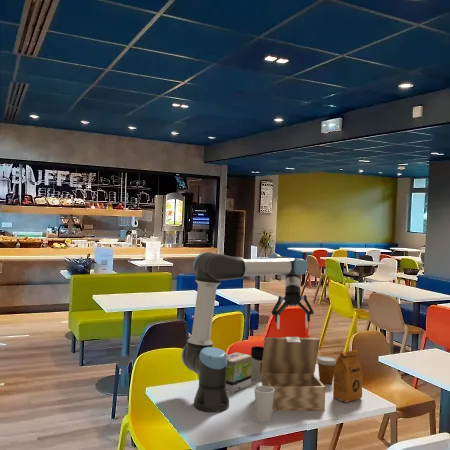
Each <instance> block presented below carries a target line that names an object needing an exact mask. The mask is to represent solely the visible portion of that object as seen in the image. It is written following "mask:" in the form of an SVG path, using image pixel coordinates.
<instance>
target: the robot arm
mask: <svg viewBox="0 0 450 450" xmlns="http://www.w3.org/2000/svg"><path fill="white" fill-rule="evenodd" d="M192 263H193V265H192V266H193V271H194V273H195V278H194V279H195V280H194V281H195V282H196V284H197V289H196V290H197V292H196V298H195V300H196V301H195V307H194V315H193V321H192V329H191V330H192V331H191V336H190V337H189V338H188V339H187V342H186V345H185V346H183V349H182V351H181V360H182V363H183V365H184V366H185V367H186V368H187V369H188V370H189V371H192V372H194V373H195V374H197V375H198V387H197V391H196V393H195V396H194V399H193V406H194V407H195V409H197V410H199V411H202V412H206V413H216V412H222V411H226V410H228V409H229V407H230V398H229V395H228V391H226V367H227V356H226V355H227V353H226V352H225V351H224V350H223V349H221V348H217V347H214V346H213V344H214V343H213V341H212V339H211V334H212V328H213V327H212V326H213V320H214V319H213V318H214V311H215V302H216V297H217V295H216V294H217V288H218V286H219V285H221V281H229V280H237V279H240V280H242V279H243V278H244V277H256V276H257V277H258V276H273V275H274V276H275V275H276V276H277V275H278V276H279V275H285V283H284V284H285V286H284V287H285V289H284V291H285V293H284V296H281V295H280V296H278V299H277V301H276V304H275V305H274V306H273V308H272V310H271V312H270V313H271V315H272V316H273V317H274V322H275V323H276V329H277V330H280V322H281V320H280V319H281V317H280V315H281V314H282V313H283V312H284V311H285V309H286V308H288V307H289V306H290V307H293V306H294V307H296V306H298V307H299V308H300V309H301V310H302V311H303V312H304V313H305V315H304V318H305V320H304V321H305V324H304V325H305V326H304V327H305V329H306V330H307V329H309V328H308V327H309V322H311V316H312V315H314V314H315V312H314V310H313V308H312V306H311V304H310V302H309V301H308V297H307V295H305V294H304V295H303V296H301V280H302V279H301V276H302V275H304V274H305V273H307V271H308V263H307V261H306V260H305V259H304V258H303V259H302V258H297V257H296V258H295V257H290V256H282V255H280V254H278V253H276V252H273V253H271V254H269V256H268V257H267V258H243V257H242V256H230V255H226V254H221V253H216V252H215V253H214V252H211V251H209V252H208V251H206V252H201V253H200V254H198V255H197V256H196V257H195V259H194V260H193V262H192ZM301 300H302V301H303V302H304V303H305V304H306V306H307V308H308V309H307V308H306V307H305V305H303V304H302V302H301ZM283 301H284V302H283ZM282 302H283V303H282ZM281 304H282V305H281Z"/></svg>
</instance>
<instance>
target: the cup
mask: <svg viewBox="0 0 450 450" xmlns="http://www.w3.org/2000/svg"><path fill="white" fill-rule="evenodd" d="M273 397H274V388H272V387H269V386H262V385H258V386H255V387H254V403H255V405H254V408H255V409H254V410H255V420H256V421H258V422H262V423H269V422H271V421H272V413H273V411H272V406H273ZM268 421H269V422H268Z"/></svg>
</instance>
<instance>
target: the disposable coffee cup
mask: <svg viewBox="0 0 450 450" xmlns="http://www.w3.org/2000/svg"><path fill="white" fill-rule="evenodd" d="M336 361H337V359H336V358H334V357H332V356H327V355H326V356H323V355H322V356H319V357H318V356H317V360H316V362H317V365H318V366H317V367H318V376H319V377H318V379H319V380H320V381H321V383H322V384H323V385H333V380H334V368H335V363H336Z"/></svg>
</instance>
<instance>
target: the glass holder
mask: <svg viewBox="0 0 450 450" xmlns="http://www.w3.org/2000/svg"><path fill="white" fill-rule="evenodd" d="M250 349H251V351H250V356H252V370H251V381H252V380H253V381H262V373H261V367H262V358H263V350H264V346H259V345H257V346H252V347H251V348H250Z"/></svg>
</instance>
